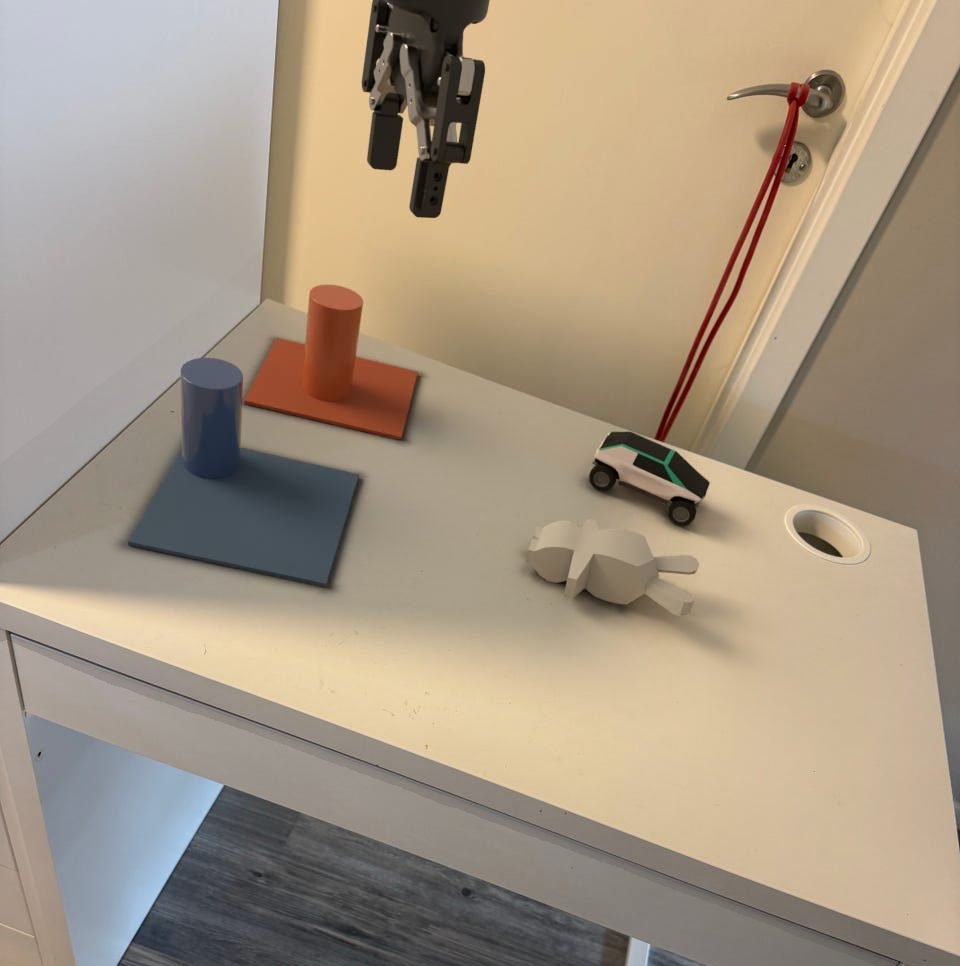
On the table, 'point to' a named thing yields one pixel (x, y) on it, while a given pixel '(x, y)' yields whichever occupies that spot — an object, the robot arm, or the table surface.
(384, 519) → the table surface
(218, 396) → the blue canister
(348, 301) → the terracotta canister
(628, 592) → the bunny figurine
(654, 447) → the toy car
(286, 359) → the terracotta mat
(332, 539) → the blue mat
